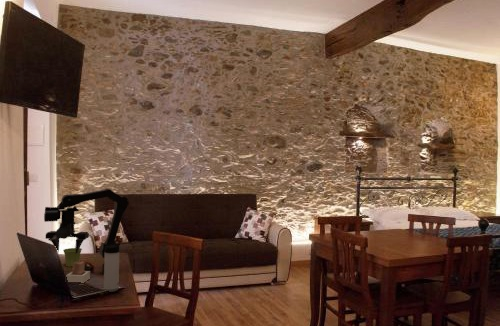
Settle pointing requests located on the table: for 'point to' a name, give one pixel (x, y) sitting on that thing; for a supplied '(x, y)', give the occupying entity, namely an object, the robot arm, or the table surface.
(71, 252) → the plant pot
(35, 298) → the table surface
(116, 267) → the travel mug
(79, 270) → the peg
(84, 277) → the socket block
